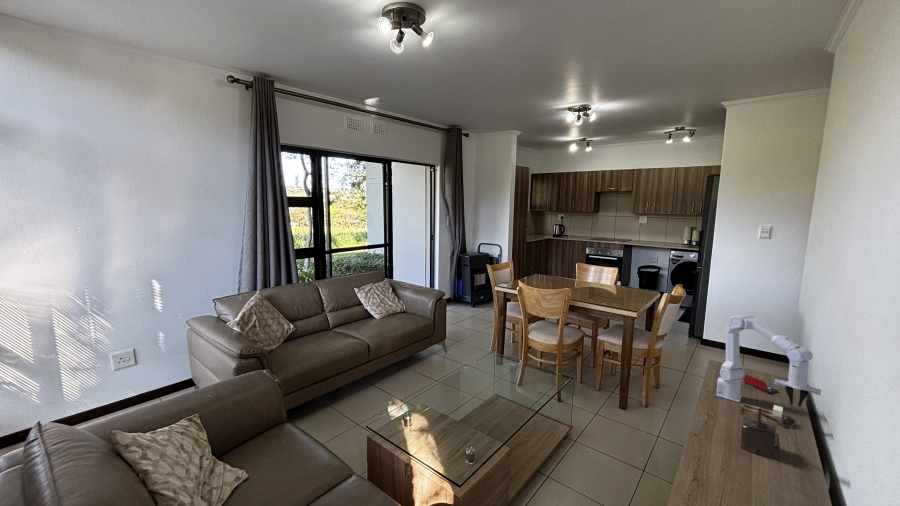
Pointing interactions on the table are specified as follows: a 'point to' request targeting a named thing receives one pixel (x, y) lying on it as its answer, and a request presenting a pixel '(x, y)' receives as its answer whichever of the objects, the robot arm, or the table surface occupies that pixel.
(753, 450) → the dark brown boxy piece
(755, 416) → the brown wooden frame
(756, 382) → the handheld game console
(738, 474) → the table surface
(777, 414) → the block
